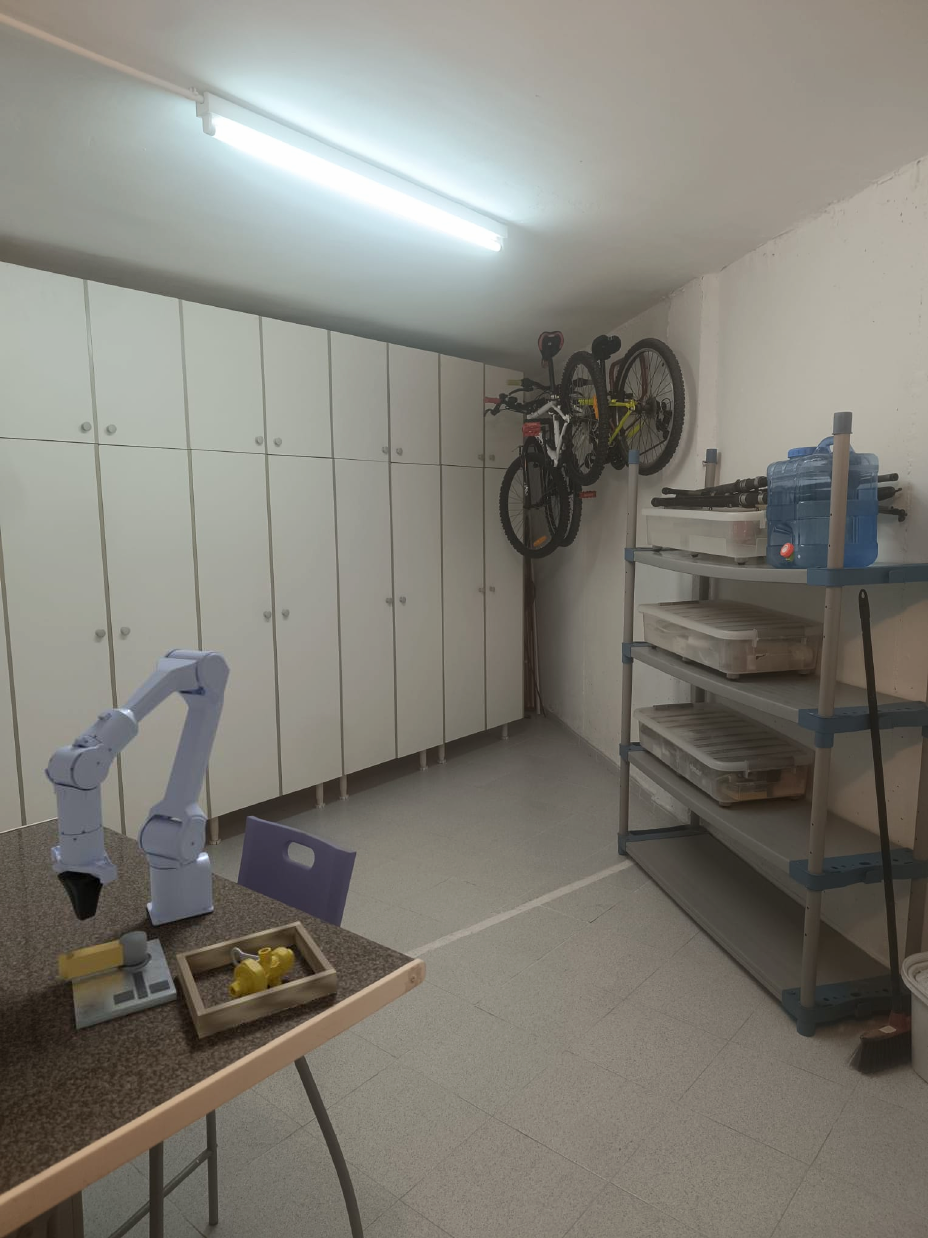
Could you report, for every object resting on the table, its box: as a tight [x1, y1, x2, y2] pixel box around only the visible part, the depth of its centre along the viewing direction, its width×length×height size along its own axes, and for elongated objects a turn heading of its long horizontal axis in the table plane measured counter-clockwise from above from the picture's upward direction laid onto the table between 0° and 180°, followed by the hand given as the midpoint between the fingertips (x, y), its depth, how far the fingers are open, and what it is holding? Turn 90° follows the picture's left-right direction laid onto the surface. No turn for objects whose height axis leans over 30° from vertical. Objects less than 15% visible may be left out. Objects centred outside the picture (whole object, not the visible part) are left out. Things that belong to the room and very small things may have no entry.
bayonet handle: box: [57, 930, 148, 981], centre depth 104 cm, size 11×4×3 cm, turn 121°
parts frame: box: [175, 921, 338, 1040], centre depth 102 cm, size 18×16×3 cm
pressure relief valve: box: [228, 947, 296, 999], centre depth 102 cm, size 6×12×10 cm
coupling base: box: [64, 938, 178, 1030], centre depth 102 cm, size 13×16×1 cm
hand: (86, 917), depth 108 cm, fingers closed
